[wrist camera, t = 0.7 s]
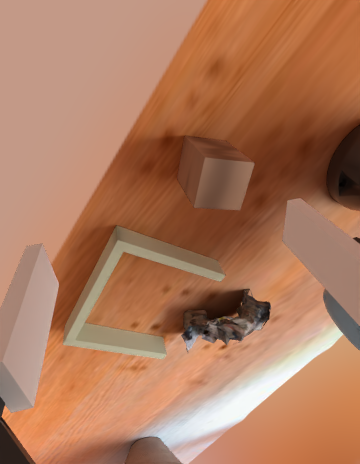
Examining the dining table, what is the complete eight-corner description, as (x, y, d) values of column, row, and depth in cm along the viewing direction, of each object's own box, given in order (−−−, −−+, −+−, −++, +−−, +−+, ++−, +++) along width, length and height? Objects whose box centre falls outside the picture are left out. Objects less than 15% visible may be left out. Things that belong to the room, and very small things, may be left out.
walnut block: (226, 140, 40) (254, 162, 33) (216, 181, 43) (240, 210, 36) (184, 135, 39) (204, 157, 31) (176, 178, 42) (193, 207, 34)
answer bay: (217, 260, 51) (225, 275, 48) (159, 341, 60) (163, 359, 56) (116, 225, 43) (117, 240, 40) (64, 325, 51) (62, 344, 48)
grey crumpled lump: (182, 302, 51) (269, 334, 47) (199, 270, 60) (272, 295, 57) (172, 349, 56) (249, 380, 53) (189, 313, 65) (255, 338, 62)
